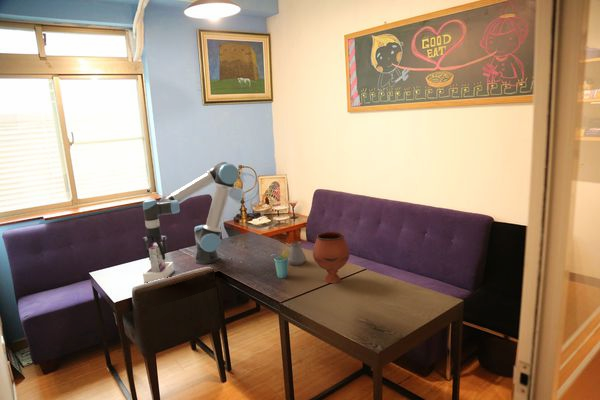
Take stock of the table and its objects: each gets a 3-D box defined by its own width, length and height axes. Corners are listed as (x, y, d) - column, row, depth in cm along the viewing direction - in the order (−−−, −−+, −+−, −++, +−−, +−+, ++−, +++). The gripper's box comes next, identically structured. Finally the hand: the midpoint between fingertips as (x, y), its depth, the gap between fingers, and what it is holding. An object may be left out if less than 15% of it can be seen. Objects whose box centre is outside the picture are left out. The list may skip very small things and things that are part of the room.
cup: (277, 282, 218) (275, 255, 215) (267, 279, 223) (265, 253, 220) (294, 274, 229) (292, 248, 226) (284, 271, 234) (282, 246, 231)
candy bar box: (157, 268, 243) (154, 242, 240) (166, 268, 243) (162, 242, 240) (151, 276, 232) (148, 248, 229) (160, 275, 232) (157, 247, 229)
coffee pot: (309, 261, 248) (308, 237, 245) (300, 267, 238) (298, 243, 235) (280, 257, 259) (278, 234, 256) (270, 263, 249) (268, 239, 246)
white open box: (174, 270, 246) (173, 261, 245) (164, 281, 229) (162, 272, 228) (155, 271, 247) (154, 262, 246) (144, 282, 230) (142, 273, 229)
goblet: (348, 272, 226) (346, 229, 221) (352, 286, 208) (350, 239, 203) (314, 274, 227) (311, 230, 222) (314, 288, 208) (311, 241, 203)
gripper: (170, 224, 236) (175, 262, 240) (139, 225, 236) (145, 263, 241) (166, 227, 228) (171, 266, 233) (134, 229, 229) (140, 268, 233)
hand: (158, 265), depth 237 cm, fingers closed on candy bar box, 5 cm apart
